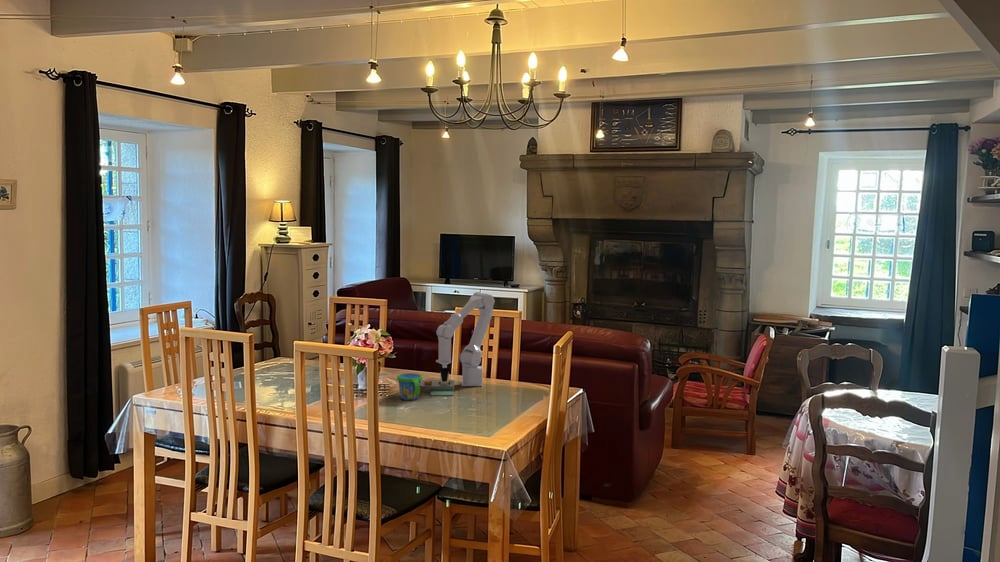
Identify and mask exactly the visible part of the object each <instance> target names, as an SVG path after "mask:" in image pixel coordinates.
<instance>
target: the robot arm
mask: <svg viewBox="0 0 1000 562" xmlns="http://www.w3.org/2000/svg"><path fill="white" fill-rule="evenodd" d="M495 301H496V300H495V298H494V296H493V294H492V293H485V292H480V291H475V292H474V293H473V295H470V298H469V300H468V301H467V302H466V303H465V305H464V306H463V307H462V308H461V309H459V311H458V312H457V313H456V312H454V313H452V314H451V315H450V317H449V318H448V319H447V320H446V321H444V322H443V324H440V325H439V326H438V327H437V330H436V331H435V332H436V336H437V340H438V359H436V360H435V363H438V370H439V374H440V373H441V378H442V381H447V378H448V373H449V374H450V370H451V365H452V338H453V336H454V335H455V331H456V330H457V329H458V328H459V327H460V326H461V325H462V324H463V323H464V318H465V317H467V316H468V315H469V314H470V313H471V312H472V311H473V310H474V309H478V312H479V316H478V319H477V322H476V325H475V327H474V330H473V332H472V335H471V338H470V340H469V343H468V345H465V347H464V348H463V350H462V351H461V353H459V361H460V363H461V366H462V368H461V369H462V370H461V371H462V372H461V373H462V376H461V377H462V379H461V387H482V386H483V384H482V383H483V366H482V365H480V364H481V362H482V355H483V352H482V350H481V347H482V343H483V341H484V338H485V335H486V333H487V330H488V328H489V325H490V322H491V320H492V317H493V314H494V305H495Z"/></svg>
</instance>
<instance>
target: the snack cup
mask: <svg viewBox="0 0 1000 562" xmlns="http://www.w3.org/2000/svg"><path fill="white" fill-rule="evenodd" d="M396 378H397V381H398V388H399V396H400V399H401V400H403V401H416V400H417V399H419V395H420V394H421V384H422V380H423V376H422V375H421V374H419V373H401V374H399V375H398V374H397V376H396Z"/></svg>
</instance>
